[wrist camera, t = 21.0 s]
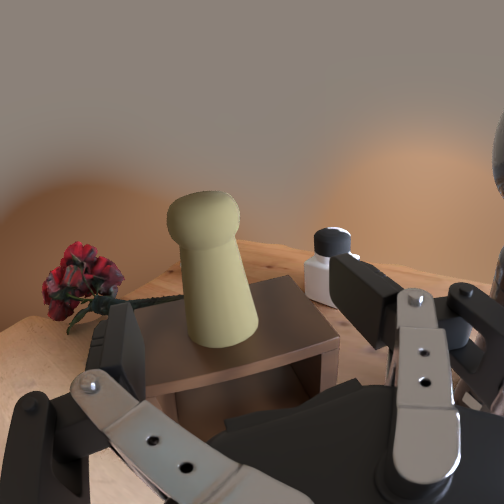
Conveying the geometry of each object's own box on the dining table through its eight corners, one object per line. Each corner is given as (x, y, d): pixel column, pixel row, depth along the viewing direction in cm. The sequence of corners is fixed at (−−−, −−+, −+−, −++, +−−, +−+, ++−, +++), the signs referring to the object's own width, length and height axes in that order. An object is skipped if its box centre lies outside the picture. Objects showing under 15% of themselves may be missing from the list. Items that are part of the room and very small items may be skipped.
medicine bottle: (338, 310, 51) (340, 243, 46) (304, 297, 56) (301, 234, 51) (358, 290, 55) (361, 228, 50) (326, 280, 60) (325, 221, 55)
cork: (265, 305, 28) (252, 181, 24) (248, 351, 23) (226, 205, 18) (202, 302, 30) (180, 187, 25) (175, 343, 24) (140, 210, 20)
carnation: (220, 374, 51) (72, 336, 60) (238, 272, 58) (93, 258, 67) (180, 367, 37) (19, 317, 46) (210, 232, 44) (48, 226, 53)
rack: (294, 376, 39) (288, 274, 33) (329, 439, 29) (340, 336, 23) (172, 406, 36) (134, 309, 30) (184, 479, 26) (129, 389, 20)
